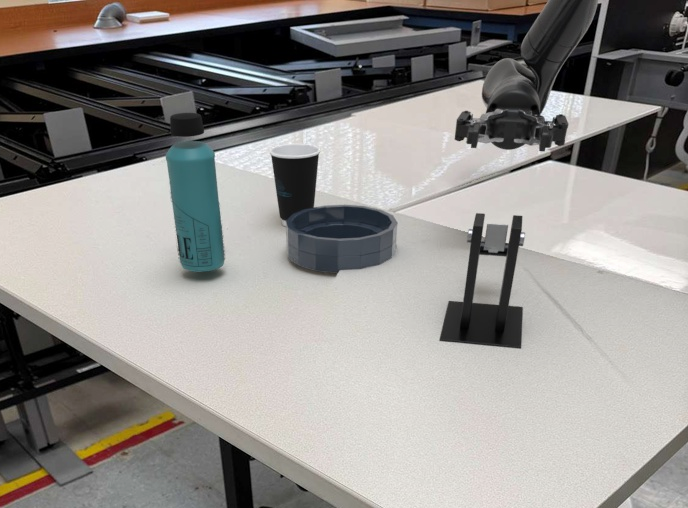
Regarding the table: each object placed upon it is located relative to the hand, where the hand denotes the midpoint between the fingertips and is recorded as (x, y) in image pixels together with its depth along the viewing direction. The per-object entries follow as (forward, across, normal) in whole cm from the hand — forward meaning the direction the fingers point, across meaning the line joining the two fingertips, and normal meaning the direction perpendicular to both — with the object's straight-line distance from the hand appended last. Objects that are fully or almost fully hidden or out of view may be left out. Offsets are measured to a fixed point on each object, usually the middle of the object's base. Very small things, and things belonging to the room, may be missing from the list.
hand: (508, 141), depth 90 cm
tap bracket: (+21, 0, +16) cm, 27 cm away
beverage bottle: (+11, -39, +16) cm, 43 cm away
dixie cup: (-13, -32, +16) cm, 38 cm away
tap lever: (+17, 0, +8) cm, 19 cm away
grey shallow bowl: (0, -21, +16) cm, 27 cm away
